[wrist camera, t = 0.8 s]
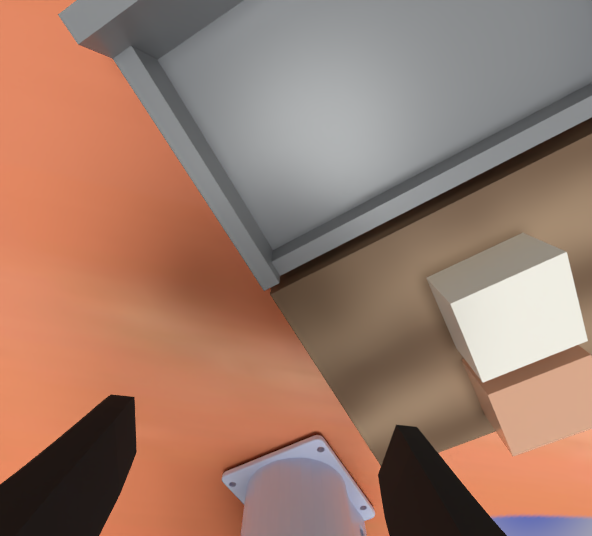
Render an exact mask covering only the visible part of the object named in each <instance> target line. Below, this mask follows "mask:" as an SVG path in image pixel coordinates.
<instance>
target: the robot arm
mask: <svg viewBox="0 0 592 536" xmlns="http://www.w3.org/2000/svg"><path fill="white" fill-rule="evenodd" d="M135 455H136V427H135V400H134V397H129V396H119V395H110V396H108V397H107V398H106V399H105V400H103V401H102V402H101V403H100V404H99V405H97V406H96V407H95V408H94V409H93V410H91V411H90V412H89V413H88V414H87V415H86V416H84V417H83V418H82V419H81V420H80V421H79V422H77V423H76V424H75V425H74V426H73V427H71V428H70V429H69V430H68V431H67V432H65V433H64V434H63V435H62V436H61V437H59V438H58V439H57V440H56V441H55V442H53V443H52V444H51V445H50V446H48V447H47V448H46V449H45V450H43V451H42V452H41V453H40V454H39V455H37V456H36V457H35V458H34V459H32V460H31V461H30V462H29V463H27V464H26V465H25V466H24V467H22V468H21V469H20V470H19V471H17V472H16V473H15V474H13V475H12V476H11V477H9V478H8V479H7V480H6V481H4V482H3V483H2V484H0V536H99V535H100V533H101V531H102V529H103V527H104V525H105V523H106V521H107V519H108V517H109V515H110V513H111V511H112V509H113V507H114V505H115V503H116V501H117V499H118V497H119V495H120V493H121V490H122V488H123V485H124V483H125V480H126V478H127V475H128V473H129V470H130V468H131V465H132V462H133V460H134V457H135ZM378 477H379V484H380V490H381V497H382V503H383V509H384V515H385V520H386V524H387V528H388V531H389V535H390V536H507V535H506V534H505V533H504V532H503V531H502V530H501V529H500V528H499V527H498V525H497V524H496V523H495V522H494V521H493V520H492V518H491V517H490V516H489V515H488V514H487V513H486V511H485V510H484V509H483V508H482V507H481V505H480V504H479V503H478V502H477V501H476V499H475V498H474V497H473V496H472V495H471V493H470V492H469V491H468V490H467V489H466V487H465V486H464V485H463V484H462V482H461V481H460V480H459V479H458V478H457V476H456V475H455V474H454V473H453V471H452V470H451V469H450V468H449V466H448V465H447V464H446V463H445V461H444V460H443V459H442V458H441V456H440V455H439V454H438V452H437V451H436V450H435V449H434V447H433V446H432V445H431V444H430V442H429V441H428V440H427V439H426V437H425V436H424V435H423V434H422V432H421V431H420V430H419V429H418V428H417V427H414V426H404V425H396V426H395V429H394V432H393V435H392V437H391V440H390V443H389V446H388V449H387V451H386V454H385V457H384V460H383V463H382V465H381V468H380V471H379V474H378ZM222 482H223V483H224V484H225V485H226V486H227V487H228V488H229V489H230V490H231V491H232V492H233V493H234V494H235V496H236V497H237V498H238V499H239V500H240V501H241V502H242V503H243V504H244V512H243V520H242V528H241V536H367V534H366V529H365V523H364V521H366V520H369V519H371V518H373V517H374V516H375V511H374V508H373V507H372V505H371V504H370V502H369V501H368V500H367V498H366V497H365V495H364V494H363V493H362V491H361V490H360V488H359V487H358V486H357V484H356V483H355V481H354V480H353V479H352V477H351V476H350V474H349V473H348V471H347V470H346V469H345V467H344V466H343V464H342V463H341V462H340V460H339V459H338V457H337V456H336V455H335V453H334V452H333V450H332V449H331V448H330V446H329V445H328V443H327V442H326V441H325V439H324V438H323V437H322V436H320V435H314V436H312V437H309V438H307V439H304V440H302V441H299V442H297V443H294V444H292V445H289V446H287V447H285V448H282V449H280V450H277V451H275V452H272V453H270V454H267V455H265V456H262V457H260V458H257V459H255V460H253V461H250V462H248V463H245V464H243V465H240V466H238V467H235V468H233V469H230V470H228V471H226V472H224V473H223V475H222Z"/></svg>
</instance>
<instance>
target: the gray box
mask: <svg viewBox="0 0 592 536" xmlns="http://www.w3.org/2000/svg"><path fill="white" fill-rule="evenodd" d="M58 15H59V17H60V18H61V20H62V21H63V23H64V24H65V26H66V27H67V29H68V30H69V32H70V33H71V34H72V36H73V37H74V39H75V40H76V42H77V43H78V45H81V46H83V47H86V48H88V49H91V50H93V51H96V52H98V53H100V54H103V55H105V56H108V57H110V58H113V60H114V61H115V63H116V64H117V66H118V67H119V69H120V70H121V72H122V74H123V75H124V77H125V78H126V80H127V81H128V83H129V84H130V86H131V87H132V89H133V90H134V92H135V94H136V95H137V97H138V98H139V100H140V101H141V103H142V104H143V106H144V107H145V109H146V110H147V112H148V113H149V115H150V117H151V118H152V120H153V121H154V123H155V124H156V126H157V127H158V129H159V130H160V132H161V133H162V135H163V137H164V138H165V140H166V141H167V143H168V144H169V146H170V147H171V149H172V150H173V152H174V153H175V155H176V156H177V158H178V160H179V161H180V163H181V164H182V166H183V167H184V169H185V170H186V172H187V173H188V175H189V176H190V178H191V180H192V181H193V183H194V184H195V186H196V187H197V189H198V190H199V192H200V193H201V195H202V196H203V198H204V199H205V201H206V203H207V204H208V206H209V207H210V209H211V210H212V212H213V213H214V215H215V216H216V218H217V219H218V221H219V223H220V224H221V226H222V227H223V229H224V230H225V232H226V233H227V235H228V236H229V238H230V239H231V241H232V242H233V244H234V246H235V247H236V249H237V250H238V252H239V253H240V255H241V256H242V258H243V259H244V261H245V262H246V264H247V266H248V267H249V269H250V270H251V272H252V273H253V275H254V276H255V278H256V279H257V281H258V282H259V284H260V285H261V287H262V289H263V290H264V291H265V290H267V289H269V288H271V287H273V286H275V285H277V284H279V283H280V276H281V275H283V274H285V273H287V272H289V271H291V270H293V269H295V268H297V267H298V266H300V265H302V264H304V263H306V262H308V261H310V260H312V259H314V258H316V257H318V256H320V255H322V254H324V253H326V252H328V251H330V250H332V249H334V248H336V247H338V246H340V245H342V244H344V243H346V242H348V241H350V240H352V239H354V238H355V237H357V236H359V235H361V234H363V233H365V232H367V231H369V230H371V229H373V228H375V227H377V226H379V225H381V224H383V223H385V222H387V221H389V220H391V219H393V218H395V217H397V216H399V215H401V214H403V213H405V212H407V211H409V210H410V209H412V208H414V207H416V206H418V205H420V204H422V203H424V202H426V201H428V200H430V199H432V198H434V197H436V196H438V195H440V194H442V193H444V192H446V191H448V190H450V189H452V188H454V187H456V186H458V185H460V184H462V183H464V182H466V181H467V180H469V179H471V178H473V177H475V176H477V175H479V174H481V173H483V172H485V171H487V170H489V169H491V168H493V167H495V166H497V165H499V164H501V163H503V162H505V161H507V160H509V159H511V158H513V157H515V156H517V155H519V154H521V153H523V152H524V151H526V150H528V149H530V148H532V147H534V146H536V145H538V144H540V143H542V142H544V141H546V140H548V139H550V138H552V137H554V136H556V135H558V134H560V133H562V132H564V131H566V130H568V129H570V128H572V127H574V126H576V125H578V124H579V123H581V122H583V121H585V120H587V119H589V118H591V117H592V0H77V1H75V2H74V3H73V4H71V5H70V6H69V7H67V8H66V9H65V10H64V11H62V12H61V13H60V14H58Z"/></svg>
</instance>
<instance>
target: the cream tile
mask: <svg viewBox="0 0 592 536" xmlns="http://www.w3.org/2000/svg"><path fill="white" fill-rule="evenodd" d="M426 279H427V281H428V283H429V286H430V288H431V290H432V293H433V295H434V297H435V300H436V302H437V304H438V307H439V309H440V311H441V314H442V316H443V318H444V321H445V323H446V325H447V328H448V330H449V332H450V335H451V337H452V339H453V342H454V344H455V346H456V348H457V350H458V351H459V352H460V354H461V355H462V356H463V358H464V359H465V360H466V361H467V363H468V364H469V365H470V367H471V368H472V369H473V371H474V372H475V373H476V375H477V376H478V377H479V378H480V380H481V381H482V382H486V381H488V380H491V379H493V378H496V377H498V376H501V375H503V374H506V373H508V372H511V371H513V370H516V369H518V368H521V367H523V366H526V365H529V364H531V363H534V362H536V361H539V360H541V359H544V358H546V357H549V356H551V355H554V354H556V353H559V352H561V351H564V350H566V349H569V348H571V347H574V346H576V345H579V344H581V343H584V342H586V341H588V339H587V335H586V331H585V326H584V322H583V318H582V314H581V310H580V305H579V301H578V297H577V293H576V289H575V284H574V280H573V276H572V272H571V268H570V263H569V259H568V255H567V252H566V251H564V250H561V249H559V248H557V247H555V246H552V245H550V244H548V243H545V242H543V241H541V240H538V239H536V238H534V237H532V236H529V235H527V234H525V233H521V234H519V235H517V236H515V237H512V238H510V239H508V240H506V241H504V242H502V243H500V244H497V245H495V246H493V247H491V248H489V249H487V250H485V251H482V252H480V253H478V254H476V255H474V256H472V257H470V258H468V259H465V260H463V261H461V262H459V263H457V264H455V265H453V266H450V267H448V268H446V269H444V270H442V271H440V272H438V273H435V274H433V275H431V276H429V277H427V278H426Z"/></svg>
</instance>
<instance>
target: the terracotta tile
mask: <svg viewBox="0 0 592 536" xmlns="http://www.w3.org/2000/svg"><path fill="white" fill-rule="evenodd" d="M461 360H462V363H463V365H464V367H465V370H466V372H467V374H468V377H469V379H470V381H471V384H472V386H473V388H474V391H475V393H476V395H477V398H478V400H479V402H480V405H481V407H482V409H483V412H484V414H485V416H486V418H487V419H488V421H489V422H490V423H491V425H492V426H493V428H494V429H495V431H496V432H497V434H498V435H499V437H500V438H501V440H502V441H503V442H504V444H505V445H506V447H507V448H508V450H509V451H510V453H511V454H512V456H516V455H519V454H521V453H524V452H527V451H530V450H533V449H536V448H538V447H541V446H544V445H547V444H550V443H553V442H555V441H558V440H561V439H564V438H567V437H570V436H572V435H575V434H578V433H581V432H584V431H587V430H589V429H592V356H591V354H590V353H588V352H587V351H586V350H584V349H583V348H582V347H580V346H579V345H576V346H574V347H571V348H569V349H566V350H564V351H561V352H559V353H556V354H554V355H551V356H549V357H546V358H544V359H541V360H539V361H536V362H534V363H531V364H529V365H526V366H523V367H521V368H518V369H516V370H513V371H511V372H508V373H506V374H503V375H501V376H498V377H496V378H493V379H491V380H488V381H486V382H482V381H481V380H480V378H479V377H478V376H477V375H476V373H475V372H474V371H473V369H472V368H471V367H470V365H469V364H468V363H467V361H466V360H465V359H464V358H463V359H461Z"/></svg>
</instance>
